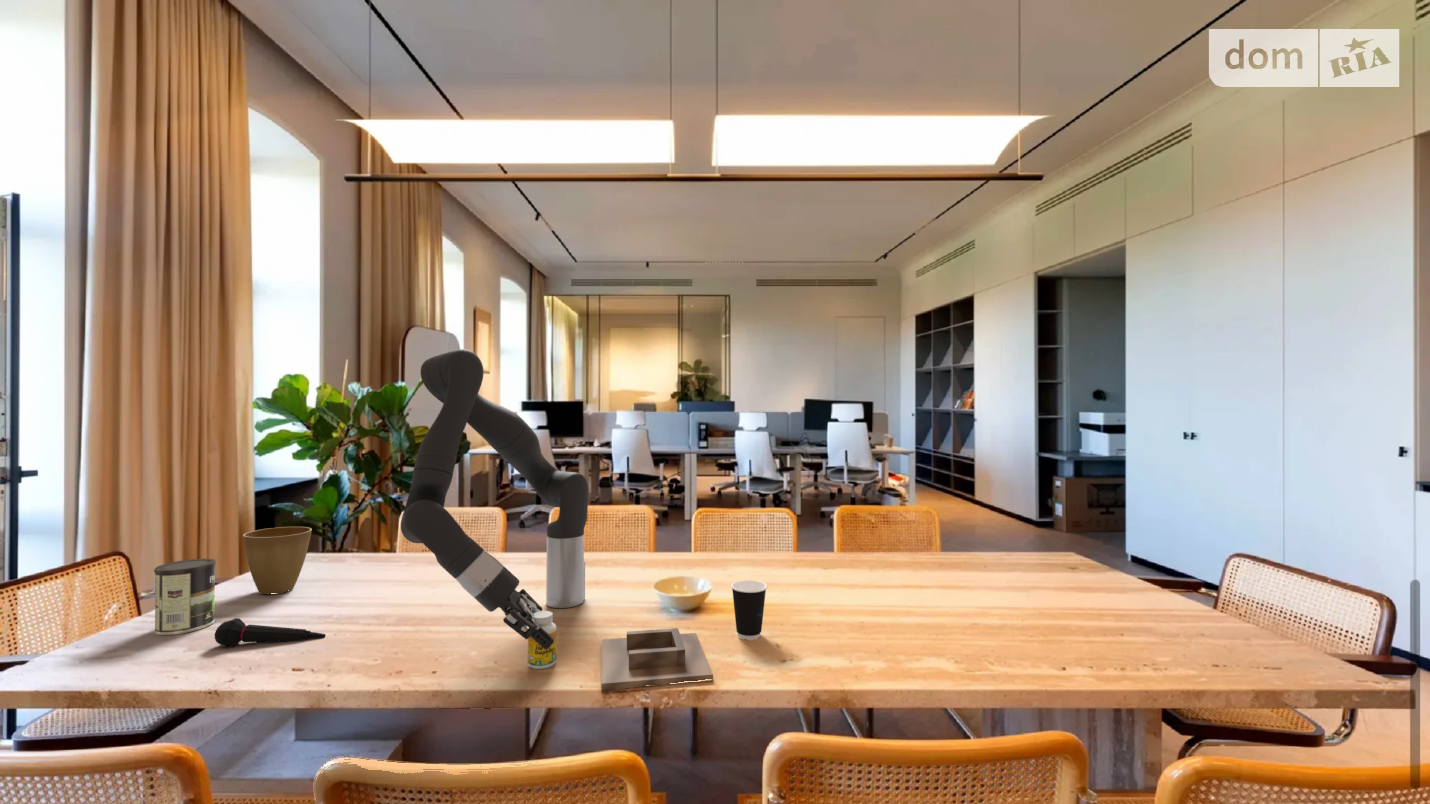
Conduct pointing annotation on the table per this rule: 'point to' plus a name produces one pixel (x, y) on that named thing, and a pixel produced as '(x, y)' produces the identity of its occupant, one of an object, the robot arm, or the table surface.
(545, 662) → the supplement bottle
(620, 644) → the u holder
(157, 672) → the table surface
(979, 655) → the table surface
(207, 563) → the coffee can
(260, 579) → the plant pot
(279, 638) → the microphone
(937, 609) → the table surface
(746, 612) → the dixie cup
